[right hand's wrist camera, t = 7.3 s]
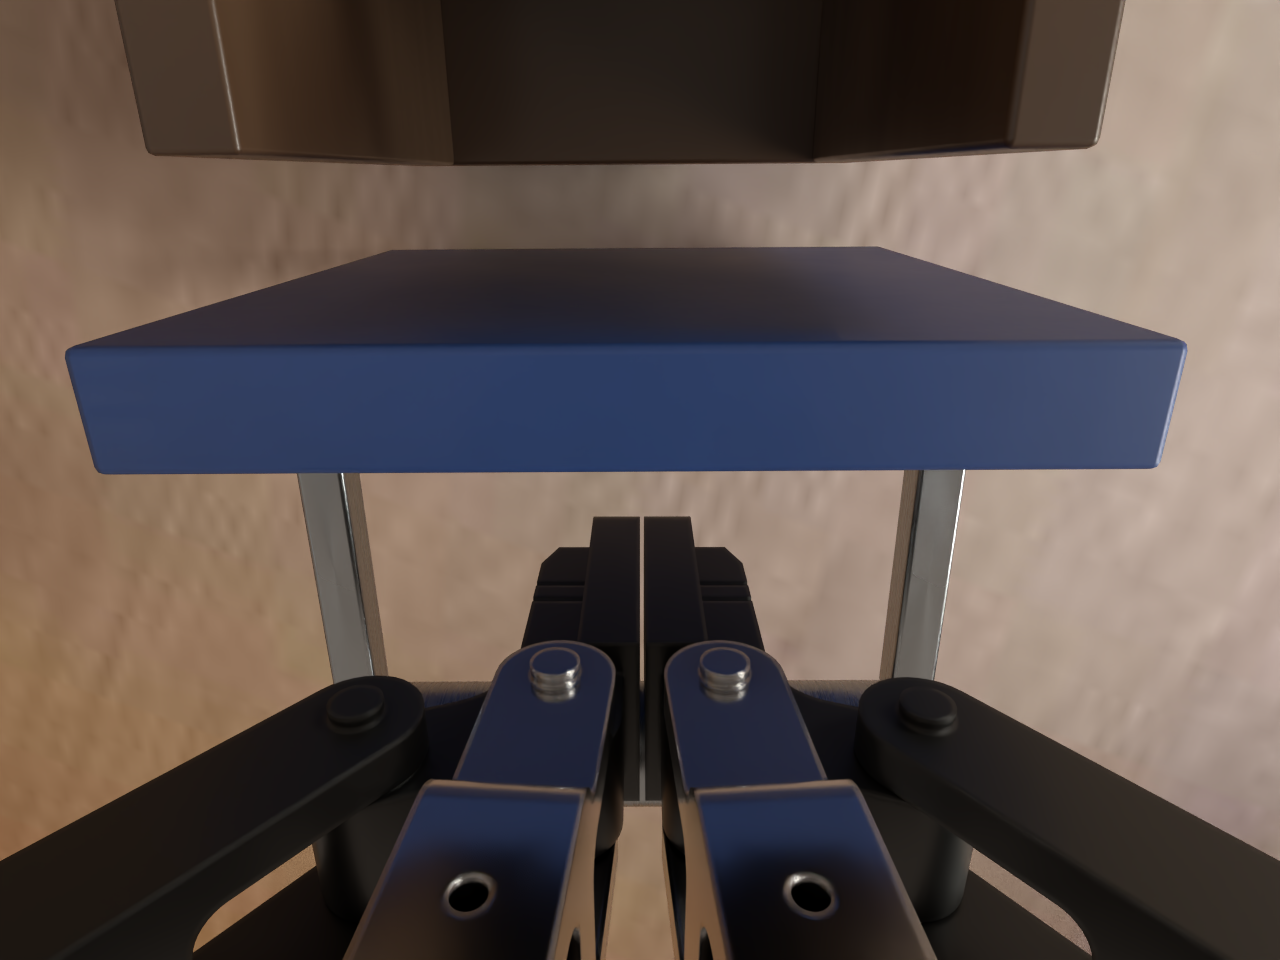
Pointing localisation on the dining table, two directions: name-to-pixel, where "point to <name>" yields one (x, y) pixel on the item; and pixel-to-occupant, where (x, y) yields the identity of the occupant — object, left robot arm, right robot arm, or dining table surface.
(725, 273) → the drawer
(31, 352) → the dining table surface
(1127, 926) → the right robot arm
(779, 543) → the dining table surface
